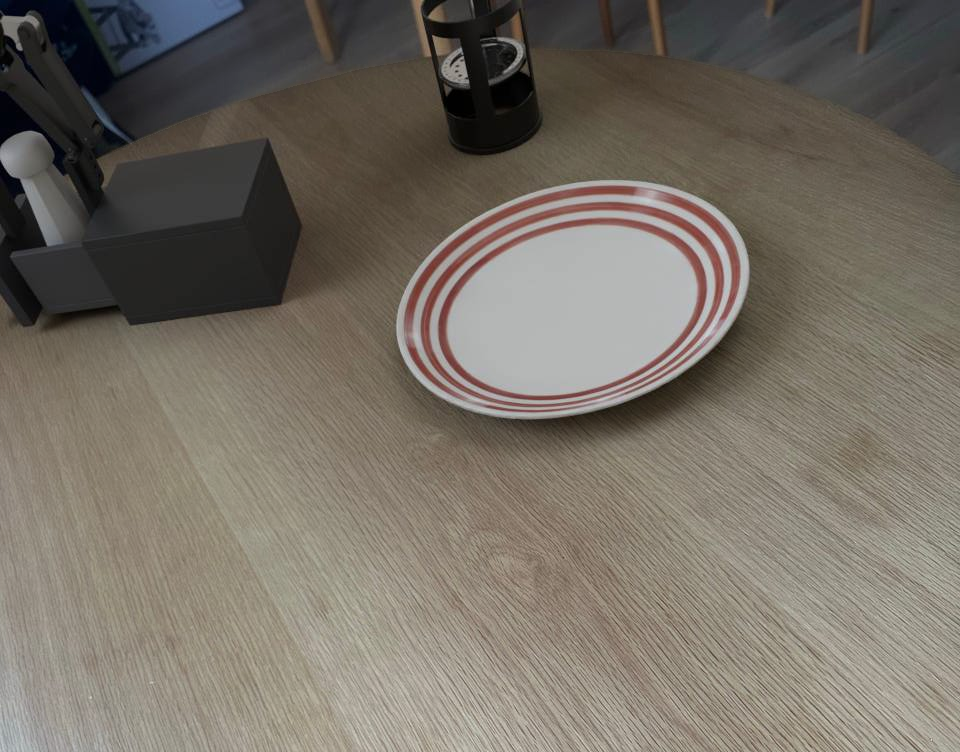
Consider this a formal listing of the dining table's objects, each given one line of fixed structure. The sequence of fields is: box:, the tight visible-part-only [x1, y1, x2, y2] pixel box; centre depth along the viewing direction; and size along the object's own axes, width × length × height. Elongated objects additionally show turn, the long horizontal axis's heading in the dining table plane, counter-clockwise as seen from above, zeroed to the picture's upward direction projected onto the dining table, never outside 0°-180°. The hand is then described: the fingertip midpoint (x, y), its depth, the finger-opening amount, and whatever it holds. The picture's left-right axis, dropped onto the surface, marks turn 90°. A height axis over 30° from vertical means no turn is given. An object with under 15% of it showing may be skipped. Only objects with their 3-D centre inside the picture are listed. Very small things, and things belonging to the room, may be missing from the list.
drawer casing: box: [81, 137, 303, 326], centre depth 92 cm, size 15×12×9 cm
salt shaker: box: [0, 130, 91, 246], centre depth 91 cm, size 6×6×13 cm
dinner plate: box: [395, 179, 751, 420], centre depth 80 cm, size 28×27×3 cm
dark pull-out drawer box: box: [0, 186, 118, 328], centre depth 95 cm, size 20×11×7 cm, turn 86°
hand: (61, 225), depth 92 cm, fingers open, 8 cm apart
